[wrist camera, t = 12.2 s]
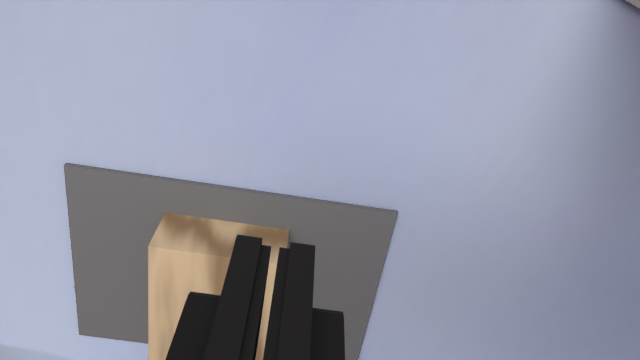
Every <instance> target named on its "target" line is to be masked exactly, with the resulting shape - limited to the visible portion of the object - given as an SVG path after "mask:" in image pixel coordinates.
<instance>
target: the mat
mask: <svg viewBox="0 0 640 360" xmlns="http://www.w3.org/2000/svg"><path fill="white" fill-rule="evenodd" d="M64 172H65V183H66V194H67V205H68V216H69V227H70V238H71V249H72V260H73V271H74V282H75V293H76V304H77V315H78V326H79V335H86V336H93V337H101V338H109V339H117V340H125V341H133V342H141V343H148V245H149V244H150V242H151V240H152V238H153V236H154V234H155V232H156V230H157V228H158V226H159V224H160V222H161V220H162V218H163V216H164V214H165V212H166V213H173V214H180V215H187V216H194V217H201V218H208V219H215V220H222V221H229V222H237V223H244V224H251V225H258V226H265V227H272V228H279V229H286V230H289V236H288V244H287V248H289V246H290V242H295V243H302V244H309V245H315V267H314V288H313V308H319V309H327V310H334V311H342V312H343V314H344V335H345V360H358V357H359V353H360V350H361V346H362V342H363V339H364V335H365V332H366V328H367V324H368V321H369V317H370V313H371V310H372V306H373V302H374V299H375V295H376V291H377V288H378V284H379V280H380V277H381V273H382V269H383V266H384V262H385V259H386V255H387V251H388V248H389V244H390V240H391V237H392V233H393V229H394V226H395V222H396V218H397V215H398V212H397V211H394V210H387V209H380V208H373V207H366V206H359V205H352V204H345V203H339V202H332V201H325V200H318V199H311V198H304V197H297V196H290V195H283V194H277V193H270V192H263V191H256V190H249V189H242V188H235V187H228V186H221V185H215V184H208V183H201V182H194V181H187V180H180V179H173V178H166V177H159V176H153V175H146V174H139V173H132V172H125V171H118V170H111V169H104V168H97V167H91V166H84V165H77V164H70V163H66V164H65V165H64Z"/></svg>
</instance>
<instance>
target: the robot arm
mask: <svg viewBox="0 0 640 360" xmlns="http://www.w3.org/2000/svg"><path fill="white" fill-rule="evenodd" d="M625 1H626V2H628V3H630V4H632V5H634V6H635V7H637V8H639V9H640V0H625ZM270 253H271V246H267V245H262V238H259V237H252V236H245V235H238V234H237V237H236V240H235V244H234V247H233V251H232V255H231V259H230V262H229V266H228V270H227V273H226V277H225V281H224V285H223V288H222V292H221V295H214V294H206V293H199V292H191V291H190V293H189V294H188V297H187V299H186V302H185V305H184V308H183V310H182V313H181V316H180V319H179V322H178V325H177V328H176V331H175V333H174V336H173V339H172V342H171V345H170V348H169V351H168V354H167V356H166V359H165V360H255V359H256V352H257V346H258V339H259V332H260V325H261V318H262V311H263V303H264V296H265V289H266V282H267V275H268V268H269V260H270ZM314 267H315V245H309V244H302V243H295V242H290V246H289V248H282V247H279V254H278V261H277V268H276V274H275V281H274V288H273V294H272V301H271V308H270V315H269V321H268V328H267V335H266V342H265V348H264V355H263V360H345V335H344V314H343V312H342V311H334V310H327V309H319V308H313V288H314Z"/></svg>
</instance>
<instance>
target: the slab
mask: <svg viewBox="0 0 640 360" xmlns="http://www.w3.org/2000/svg"><path fill="white" fill-rule="evenodd" d="M237 234H238V235H245V236H252V237H259V238H262V245H267V246H271V253H270V260H269V268H268V275H267V282H266V289H265V296H264V303H263V311H262V318H261V325H260V332H259V339H258V346H257V352H256V359H255V360H263V355H264V348H265V342H266V335H267V328H268V321H269V315H270V308H271V301H272V294H273V288H274V281H275V274H276V268H277V261H278V254H279V247H282V248H287V244H288V236H289V230H286V229H279V228H272V227H265V226H258V225H251V224H244V223H237V222H229V221H222V220H215V219H208V218H201V217H194V216H187V215H180V214H173V213H166V212H165V214H164V216H163V218H162V220H161V222H160V224H159V226H158V228H157V230H156V232H155V234H154V236H153V238H152V240H151V242H150V244H149V245H148V360H165V359H166V356H167V354H168V351H169V348H170V345H171V342H172V339H173V336H174V333H175V331H176V328H177V325H178V322H179V319H180V316H181V313H182V310H183V308H184V305H185V302H186V299H187V297H188V294H189V293H190V291H191V292H199V293H206V294H214V295H221V292H222V288H223V285H224V281H225V277H226V273H227V270H228V266H229V262H230V259H231V255H232V251H233V247H234V244H235V240H236V237H237Z"/></svg>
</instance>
